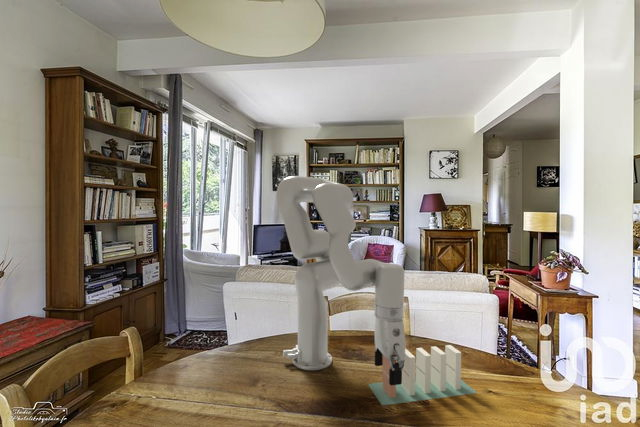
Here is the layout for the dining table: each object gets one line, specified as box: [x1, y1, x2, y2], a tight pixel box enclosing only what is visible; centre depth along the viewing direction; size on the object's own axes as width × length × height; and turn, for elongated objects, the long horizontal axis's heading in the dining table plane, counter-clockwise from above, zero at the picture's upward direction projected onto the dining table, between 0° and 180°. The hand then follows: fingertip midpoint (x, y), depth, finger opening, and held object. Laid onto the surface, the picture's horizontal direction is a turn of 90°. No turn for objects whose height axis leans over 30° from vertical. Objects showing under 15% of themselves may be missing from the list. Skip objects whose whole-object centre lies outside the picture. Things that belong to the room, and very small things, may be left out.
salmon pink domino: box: [381, 355, 397, 398], centre depth 88 cm, size 2×5×10 cm, turn 12°
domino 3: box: [430, 345, 446, 392], centre depth 91 cm, size 2×5×10 cm, turn 12°
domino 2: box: [415, 347, 431, 394], centre depth 90 cm, size 2×5×10 cm, turn 12°
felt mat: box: [367, 377, 478, 406], centre depth 90 cm, size 27×10×1 cm, turn 102°
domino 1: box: [401, 348, 416, 396], centre depth 89 cm, size 2×5×10 cm, turn 12°
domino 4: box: [444, 344, 462, 390], centre depth 92 cm, size 2×5×10 cm, turn 12°
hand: (387, 374), depth 88 cm, fingers open, 9 cm apart
